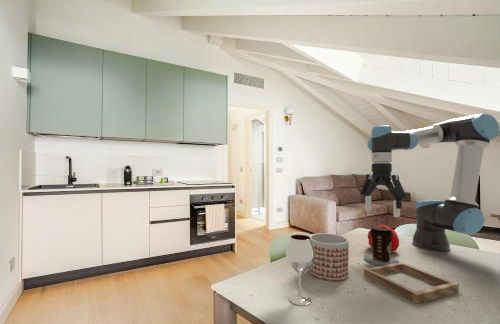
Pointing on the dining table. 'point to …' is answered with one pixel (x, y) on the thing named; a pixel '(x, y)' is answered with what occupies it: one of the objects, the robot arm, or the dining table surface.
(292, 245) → the wineglass
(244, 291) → the dining table surface
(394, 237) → the tomato
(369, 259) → the flat grey disc
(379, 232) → the coffee cup
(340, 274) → the planter
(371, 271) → the square wooden frame
